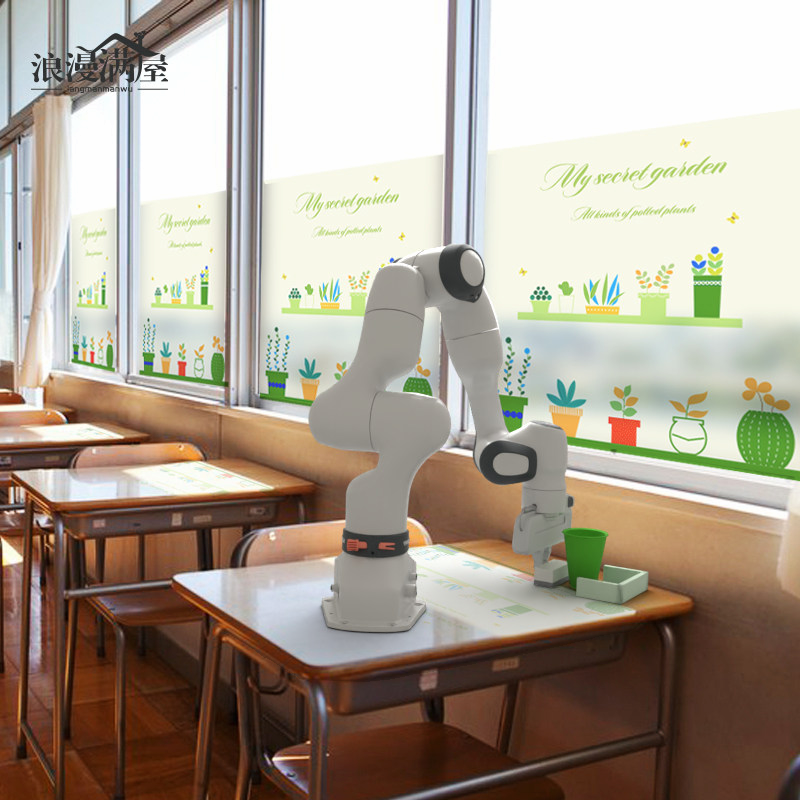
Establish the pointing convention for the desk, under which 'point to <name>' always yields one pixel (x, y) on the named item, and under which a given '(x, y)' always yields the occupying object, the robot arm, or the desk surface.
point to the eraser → (551, 573)
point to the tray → (614, 585)
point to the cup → (584, 553)
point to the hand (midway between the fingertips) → (540, 569)
